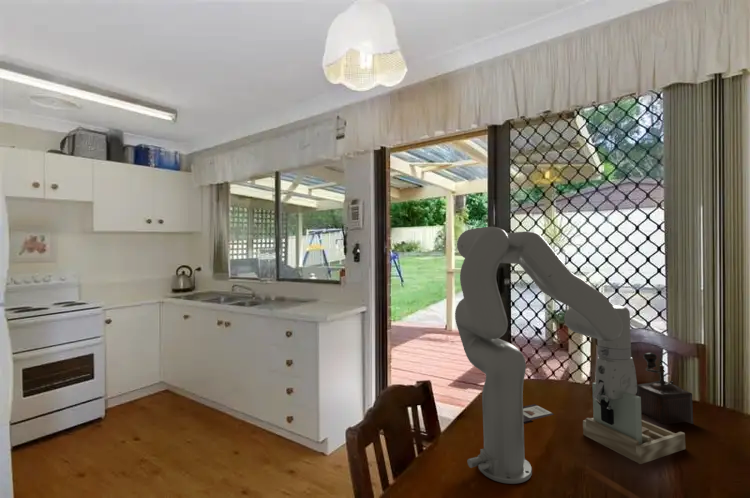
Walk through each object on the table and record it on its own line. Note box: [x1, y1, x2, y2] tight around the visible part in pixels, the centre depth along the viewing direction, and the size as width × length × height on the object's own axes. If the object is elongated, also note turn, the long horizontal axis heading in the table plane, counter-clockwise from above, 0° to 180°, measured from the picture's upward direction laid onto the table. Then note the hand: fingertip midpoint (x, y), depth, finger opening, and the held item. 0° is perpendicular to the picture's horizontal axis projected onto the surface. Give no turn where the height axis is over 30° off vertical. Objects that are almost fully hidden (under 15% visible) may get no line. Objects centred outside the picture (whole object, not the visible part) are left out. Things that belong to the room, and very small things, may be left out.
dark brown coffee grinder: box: [635, 352, 695, 425], centre depth 120 cm, size 16×11×18 cm
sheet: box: [591, 381, 642, 445], centre depth 100 cm, size 2×12×15 cm, turn 21°
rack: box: [582, 417, 686, 465], centre depth 102 cm, size 17×16×6 cm
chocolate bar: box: [523, 403, 555, 425], centre depth 122 cm, size 9×1×18 cm
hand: (616, 419), depth 100 cm, fingers open, 5 cm apart
